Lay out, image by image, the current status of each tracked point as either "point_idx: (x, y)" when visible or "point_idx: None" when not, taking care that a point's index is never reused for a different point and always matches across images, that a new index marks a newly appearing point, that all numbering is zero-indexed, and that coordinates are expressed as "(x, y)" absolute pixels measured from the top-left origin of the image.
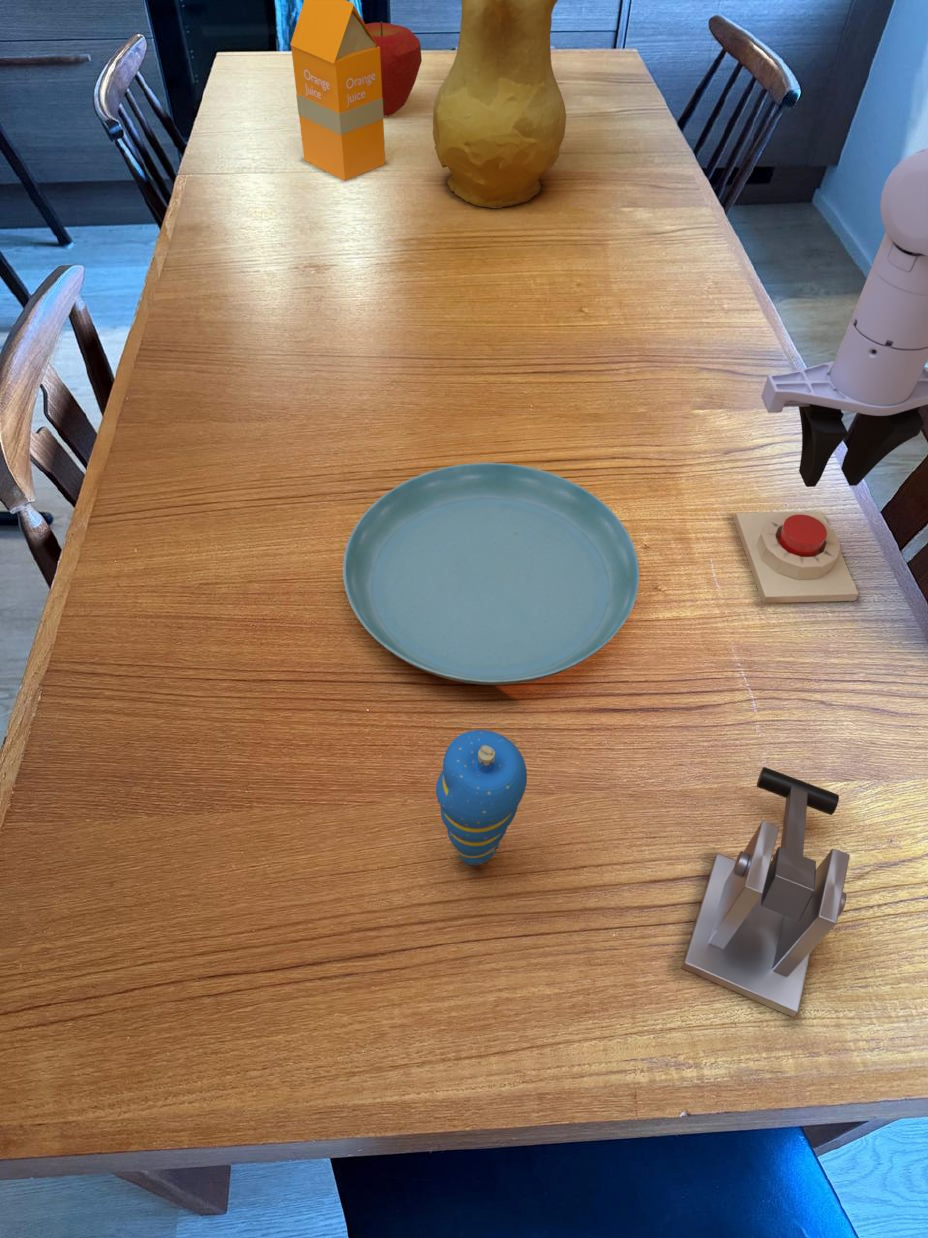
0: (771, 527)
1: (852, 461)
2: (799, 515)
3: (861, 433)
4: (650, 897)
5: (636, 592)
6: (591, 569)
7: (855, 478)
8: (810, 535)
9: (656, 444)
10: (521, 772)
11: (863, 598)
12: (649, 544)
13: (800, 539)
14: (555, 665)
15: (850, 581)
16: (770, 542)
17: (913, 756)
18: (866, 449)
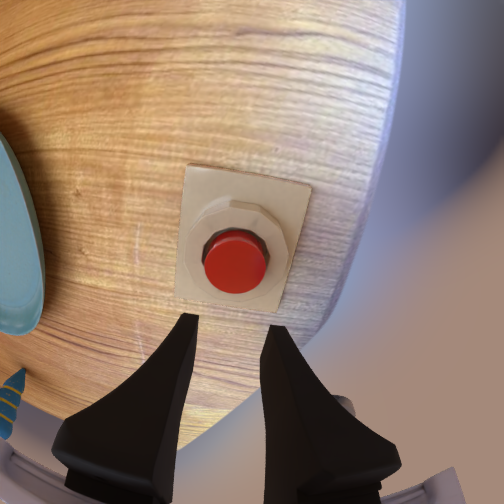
0: (203, 232)
1: (269, 369)
2: (238, 244)
3: (284, 406)
4: (87, 404)
5: (42, 298)
6: (27, 229)
7: (260, 378)
8: (236, 280)
9: (148, 11)
10: (5, 438)
11: (286, 304)
12: (81, 190)
13: (218, 283)
14: (20, 309)
15: (277, 298)
16: (191, 256)
17: (237, 402)
18: (271, 419)
